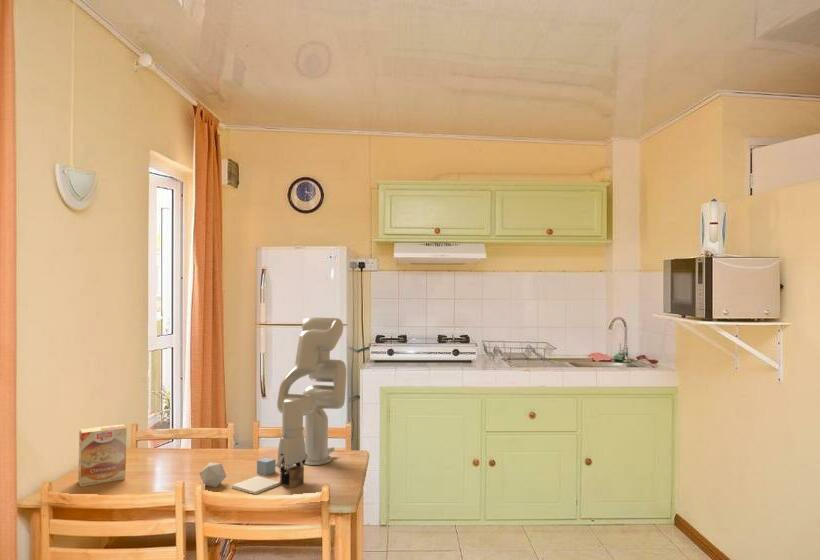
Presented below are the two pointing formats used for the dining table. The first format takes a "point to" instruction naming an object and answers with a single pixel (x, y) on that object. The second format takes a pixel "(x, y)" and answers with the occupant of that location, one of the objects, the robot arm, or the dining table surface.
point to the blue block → (266, 466)
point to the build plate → (255, 485)
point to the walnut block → (294, 476)
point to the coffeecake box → (102, 454)
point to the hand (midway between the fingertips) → (291, 481)
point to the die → (213, 474)
